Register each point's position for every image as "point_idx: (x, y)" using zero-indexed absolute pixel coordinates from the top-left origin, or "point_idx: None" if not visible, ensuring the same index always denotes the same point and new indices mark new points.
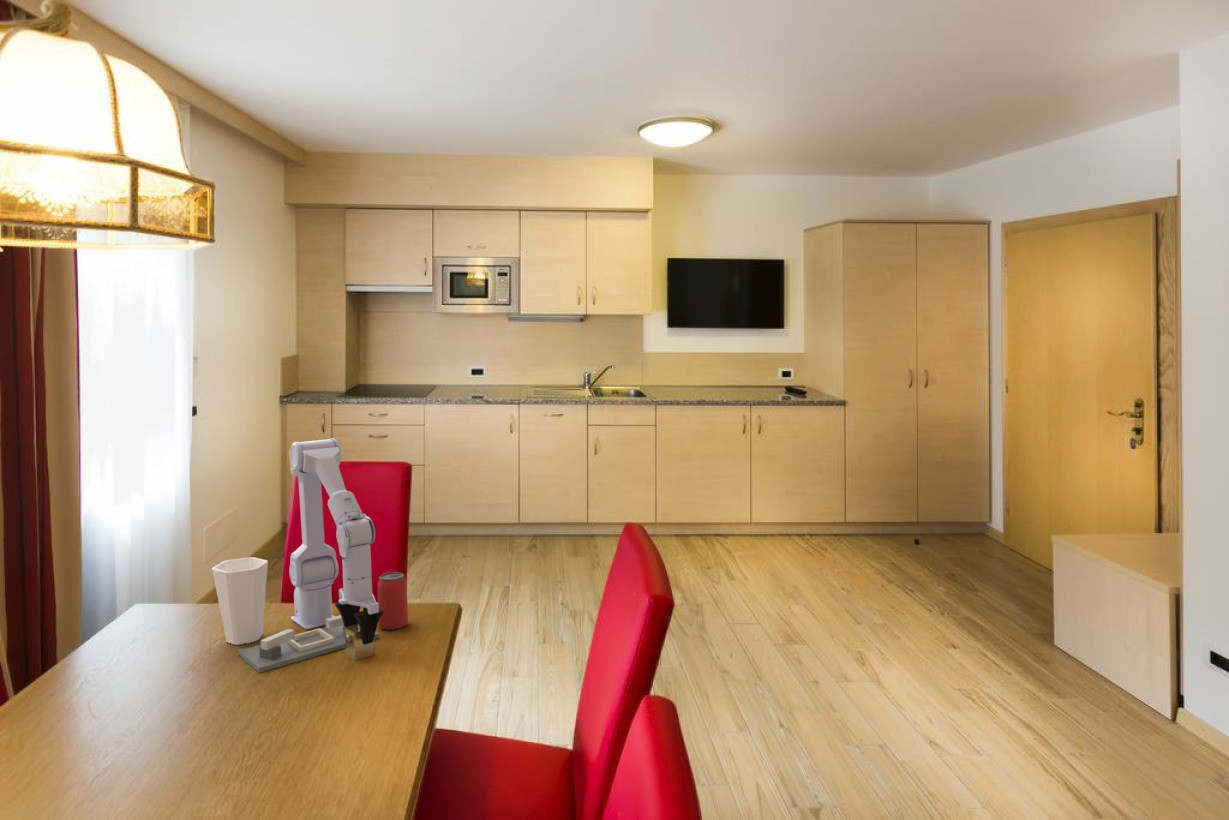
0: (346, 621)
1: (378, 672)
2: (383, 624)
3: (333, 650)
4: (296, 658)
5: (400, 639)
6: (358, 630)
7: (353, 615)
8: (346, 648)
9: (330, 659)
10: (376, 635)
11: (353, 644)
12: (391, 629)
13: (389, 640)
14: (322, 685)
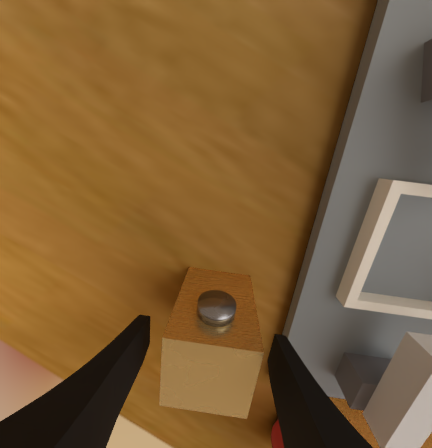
0: (294, 390)
1: (71, 260)
2: None
3: (301, 267)
4: (344, 141)
5: None
6: (174, 361)
7: (293, 443)
8: (246, 286)
9: (254, 228)
10: None
11: (185, 298)
12: None
13: None
14: (87, 99)
